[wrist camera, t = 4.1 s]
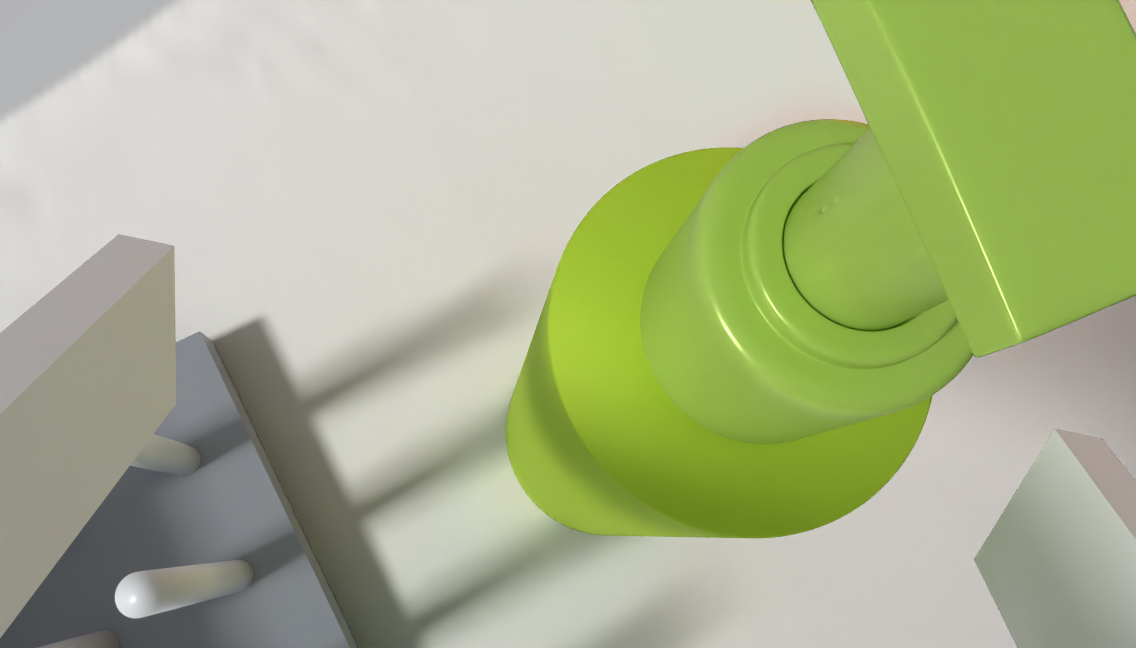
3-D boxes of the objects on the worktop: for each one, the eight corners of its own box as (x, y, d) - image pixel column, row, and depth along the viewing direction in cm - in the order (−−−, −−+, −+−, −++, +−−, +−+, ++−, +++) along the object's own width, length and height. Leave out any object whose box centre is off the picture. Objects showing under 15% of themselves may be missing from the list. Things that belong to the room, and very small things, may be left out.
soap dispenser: (644, 275, 27) (1119, -403, 7) (736, 488, 25) (1592, 350, 6) (463, 341, 26) (459, -252, 6) (550, 568, 24) (882, 705, 5)
